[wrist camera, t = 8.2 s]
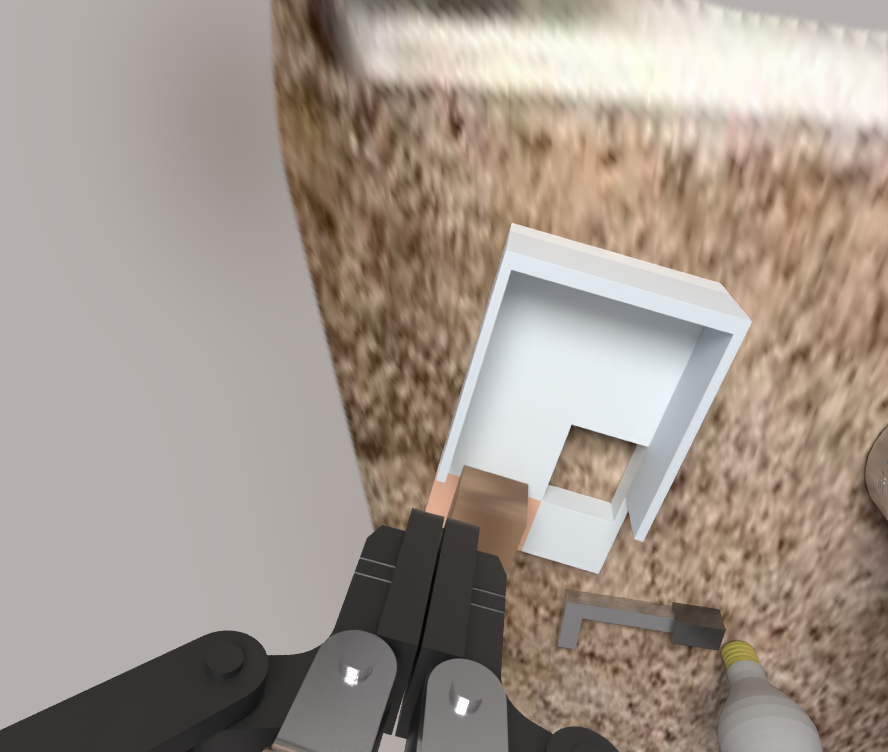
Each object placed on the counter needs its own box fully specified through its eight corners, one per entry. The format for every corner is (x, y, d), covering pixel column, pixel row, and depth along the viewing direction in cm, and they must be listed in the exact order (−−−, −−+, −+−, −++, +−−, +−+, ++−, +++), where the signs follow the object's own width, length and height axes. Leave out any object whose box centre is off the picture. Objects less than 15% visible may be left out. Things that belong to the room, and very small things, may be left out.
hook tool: (719, 609, 44) (725, 629, 43) (703, 656, 46) (709, 677, 44) (567, 585, 45) (567, 604, 43) (557, 633, 47) (558, 653, 45)
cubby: (720, 283, 35) (752, 321, 30) (596, 553, 44) (603, 621, 38) (511, 222, 36) (505, 249, 30) (427, 503, 44) (410, 563, 38)
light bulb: (791, 662, 45) (852, 809, 36) (711, 683, 47) (751, 829, 38) (762, 604, 44) (819, 743, 34) (681, 628, 45) (715, 767, 36)
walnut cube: (528, 484, 40) (526, 525, 36) (508, 535, 42) (505, 579, 38) (464, 464, 40) (456, 503, 36) (446, 516, 42) (437, 559, 38)
